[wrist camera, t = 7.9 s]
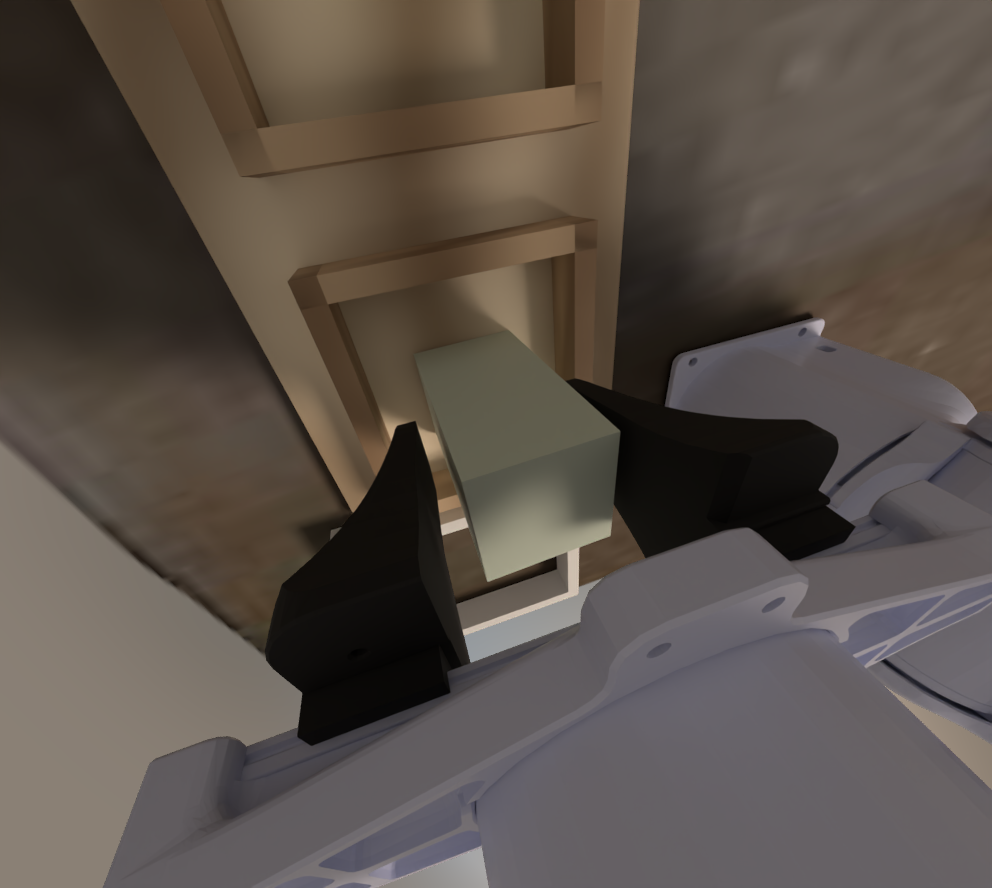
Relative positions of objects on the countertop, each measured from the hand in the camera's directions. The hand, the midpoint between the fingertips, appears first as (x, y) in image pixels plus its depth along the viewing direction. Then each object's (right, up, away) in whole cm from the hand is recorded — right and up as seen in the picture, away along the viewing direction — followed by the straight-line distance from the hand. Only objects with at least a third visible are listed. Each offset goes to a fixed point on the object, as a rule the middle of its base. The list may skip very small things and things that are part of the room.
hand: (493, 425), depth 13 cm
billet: (-1, +2, +3) cm, 4 cm away
